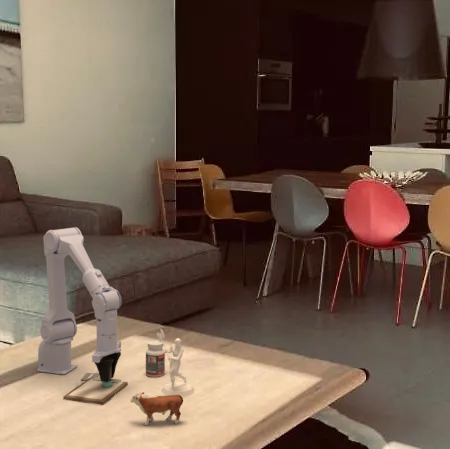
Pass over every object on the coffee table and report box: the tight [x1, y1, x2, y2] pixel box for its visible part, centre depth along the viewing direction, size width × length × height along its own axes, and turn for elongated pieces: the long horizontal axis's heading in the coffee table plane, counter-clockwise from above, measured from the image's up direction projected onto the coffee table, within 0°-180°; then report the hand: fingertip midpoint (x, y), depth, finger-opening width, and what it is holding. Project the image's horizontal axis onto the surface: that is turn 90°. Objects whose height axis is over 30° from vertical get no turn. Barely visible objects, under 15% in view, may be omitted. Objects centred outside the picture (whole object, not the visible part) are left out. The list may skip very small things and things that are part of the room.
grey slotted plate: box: [80, 372, 100, 382], centre depth 224 cm, size 4×6×1 cm, turn 173°
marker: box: [102, 357, 113, 388], centre depth 214 cm, size 3×3×8 cm
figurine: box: [156, 328, 195, 397], centre depth 213 cm, size 10×10×18 cm
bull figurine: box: [130, 391, 184, 427], centre depth 192 cm, size 4×13×8 cm, turn 95°
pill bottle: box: [145, 339, 166, 378], centre depth 227 cm, size 6×6×10 cm
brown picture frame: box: [62, 376, 129, 406], centre depth 212 cm, size 12×16×1 cm
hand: (107, 379), depth 214 cm, fingers closed on marker, 3 cm apart
